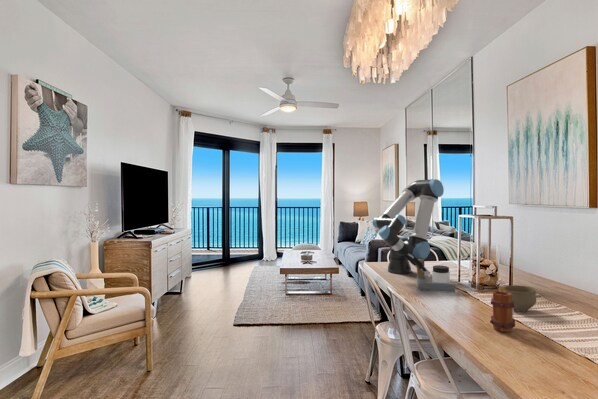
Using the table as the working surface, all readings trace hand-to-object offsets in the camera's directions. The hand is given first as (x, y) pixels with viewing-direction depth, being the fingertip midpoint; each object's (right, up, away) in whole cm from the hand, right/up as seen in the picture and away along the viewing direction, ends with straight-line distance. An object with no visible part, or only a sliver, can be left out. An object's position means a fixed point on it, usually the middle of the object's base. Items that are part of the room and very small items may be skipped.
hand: (426, 273), depth 202 cm
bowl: (+20, -4, -55) cm, 59 cm away
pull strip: (0, -4, -12) cm, 13 cm away
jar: (0, -4, -20) cm, 20 cm away
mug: (+1, -5, -74) cm, 74 cm away
